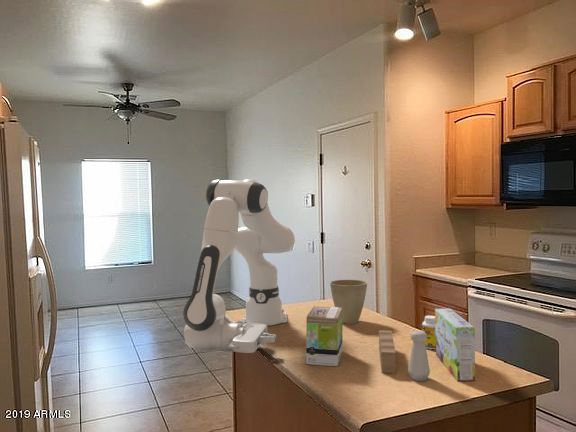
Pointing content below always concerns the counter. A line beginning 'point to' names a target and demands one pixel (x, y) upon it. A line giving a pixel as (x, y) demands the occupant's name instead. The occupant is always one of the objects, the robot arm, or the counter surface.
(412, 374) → the salt shaker
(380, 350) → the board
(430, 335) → the supplement bottle
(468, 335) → the snack box
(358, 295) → the plant pot
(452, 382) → the counter surface
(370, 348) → the counter surface
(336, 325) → the tea box
